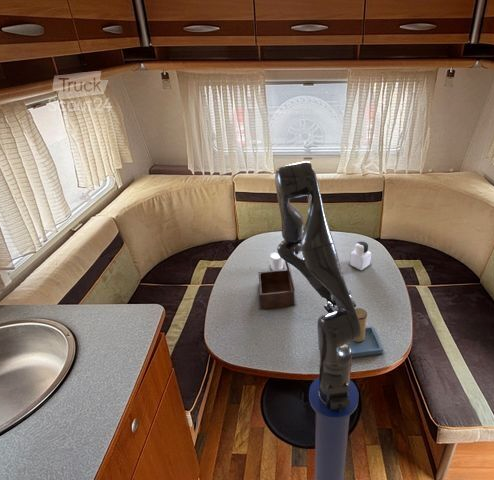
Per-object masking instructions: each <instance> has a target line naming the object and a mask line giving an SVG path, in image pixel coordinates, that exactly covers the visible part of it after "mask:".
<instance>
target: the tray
mask: <svg viewBox="0 0 494 480" xmlns="http://www.w3.org/2000/svg"><path fill="white" fill-rule="evenodd" d="M348 345H349V346H350V348H351V350H352V358H359V357H367V356H375V355H382V354H383V350H384V349H383V347H382V345H381V343H380V340H379V338H378V335H377V333H376V330H375V329H374V326H373V325H371V326H369V325H368V326H366V328H365V338H364V341H363V342H362V343H355V342H353V341H352V342H350V343H348Z"/></svg>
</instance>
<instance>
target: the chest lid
mask: <svg viewBox="0 0 494 480" xmlns="http://www.w3.org/2000/svg"><path fill="white" fill-rule="evenodd" d="M284 263H285V267H286V269H287V271H288V275H289V279H290V282H291V286H292V290H293V291H294V292H295V290H296V289H295V284H294V280H293V274H292V269H291V264H290V263H288V262H287V261H285V260H284Z"/></svg>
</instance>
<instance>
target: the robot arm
mask: <svg viewBox="0 0 494 480" xmlns="http://www.w3.org/2000/svg"><path fill="white" fill-rule="evenodd" d="M274 184H275V190H276V196H277V203H278V208H279V212H280V219H281V236H282V239H283V240H281V242H280V243H279V244H278V245H277V248H276V252H278V254H279V256H280V257H281V258H282V259H283V261H284V262H285V261H287V262H288V263H289V264H290V266H293V267H294V268H296V269H297V270H298V271H299V272H300V274H301V275H302V276H303V277H304V278H305V279H306V280H307V282H308V283H309V285H311V287H312V288H313V289H314V290H315V292H317V294H318V295H319V296H320V297H321V298H323V299H325V300H326V304H324V305H323V308H324V310H325V311H326V312H327V313H325V314H323V315H321V316H320V317H319V318H318V320H317V346H318V351H319V352H318V353H319V368H318V369H319V374H318V377H319V398H320V400H321V401H322V402H323V403H324V404H325V405H326V407H327V409H329V408H331V410H333V409H339V412H342V411H343V409H342V408H347V407H349V384H350V380H351V371H352V362H353V361H352V360H353V357H352V350H351V348H350V346H349V345H348V343H350V342H352V341H355V340H357V339H359V338H360V336H361V325H360V321H359V318H358V315H357V313H356V310H355V309H356V307H357V304H356V302H355V300H354V299H353V297H352V296H351V294H352V291H351V290H350V289H349V288H348V286H347V284H346V280H345V276H344V273H343V271H342V267H341V264H340V263H341V262H340V259H339V255H338V252H337V248H336V244H335V241H334V238H333V235H332V232H331V229H330V226H329V223H328V219H327V216H326V213H325V209H324V203H323V199H322V194H321V190H320V185H319V181H318V176H317V173H316V170H315V168H314V166H313V165H312V163H311V162H310V161H301V162H296V163H292V164H287V165H283V166H279V167H278V168H277V169H276V170H275V172H274ZM302 197H306V198H307V204H308V205H307V206H308V211H307V216H306V217H307V218H306V220H305V221H306V222H305V224H304V217H303V215H302V214H301V212H300V211H299V209H297V208H296V207H295V206H294V205H293V204H292V203H291V201H290V200H292V199H297V198H302ZM300 253H302V258H301V257H299V256H298V255H299V254H300Z"/></svg>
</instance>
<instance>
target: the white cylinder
mask: <svg viewBox="0 0 494 480" xmlns="http://www.w3.org/2000/svg"><path fill="white" fill-rule="evenodd" d="M268 257H269V263H270V268H271V271H274V270H284V269H283V268H284V260H283V259H282V258H281V257H280V256H279V254H278V252H277V251H273V252H271V253H269V255H268Z"/></svg>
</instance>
